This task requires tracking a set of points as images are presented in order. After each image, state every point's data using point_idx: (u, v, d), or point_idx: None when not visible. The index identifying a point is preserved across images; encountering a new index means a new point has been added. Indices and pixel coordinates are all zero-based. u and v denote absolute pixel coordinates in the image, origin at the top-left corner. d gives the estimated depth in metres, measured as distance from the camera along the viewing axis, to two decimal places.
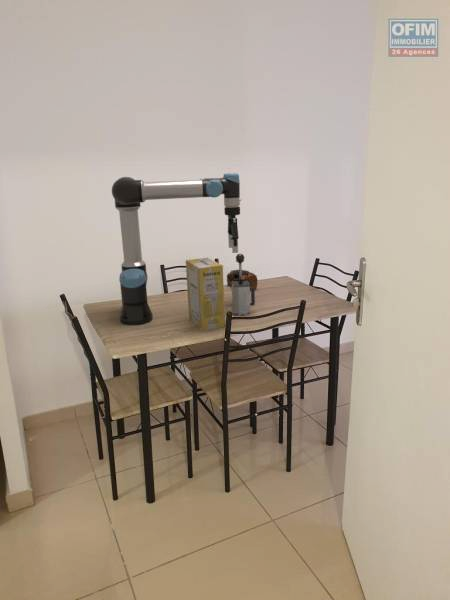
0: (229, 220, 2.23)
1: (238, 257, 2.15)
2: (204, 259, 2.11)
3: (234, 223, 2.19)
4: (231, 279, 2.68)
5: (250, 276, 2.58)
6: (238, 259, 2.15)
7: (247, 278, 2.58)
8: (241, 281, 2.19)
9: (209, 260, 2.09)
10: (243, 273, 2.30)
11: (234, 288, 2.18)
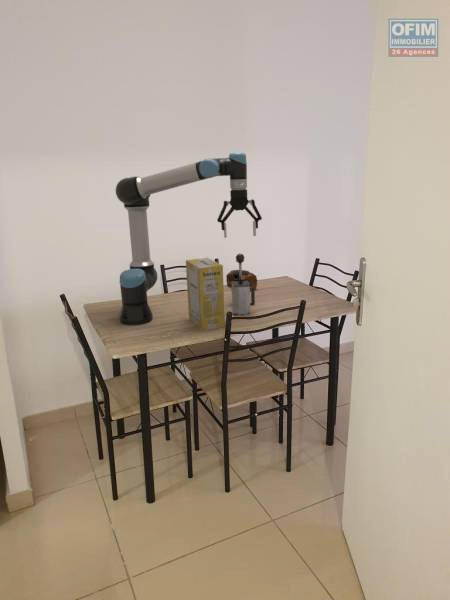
0: None
1: (238, 257, 2.15)
2: (204, 259, 2.11)
3: (223, 206, 2.09)
4: (231, 279, 2.67)
5: (250, 276, 2.58)
6: (238, 259, 2.15)
7: (247, 278, 2.58)
8: (241, 281, 2.19)
9: (209, 260, 2.09)
10: (243, 273, 2.30)
11: (234, 288, 2.18)
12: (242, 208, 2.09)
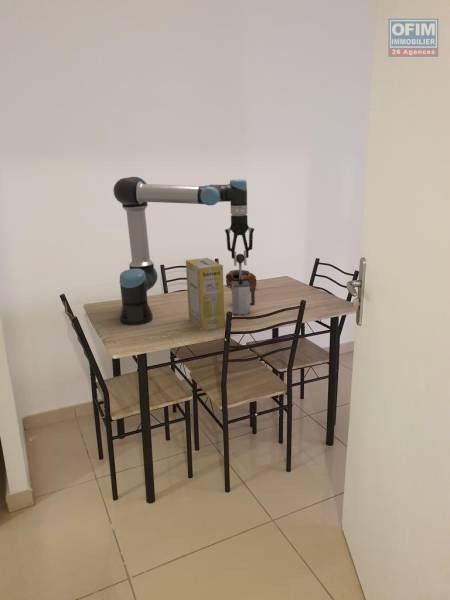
0: None
1: (238, 257, 2.15)
2: (204, 259, 2.11)
3: (226, 235, 2.13)
4: (230, 279, 2.67)
5: (249, 276, 2.58)
6: (238, 259, 2.15)
7: (246, 278, 2.57)
8: (241, 281, 2.19)
9: (209, 260, 2.09)
10: (243, 273, 2.30)
11: (234, 288, 2.18)
12: None
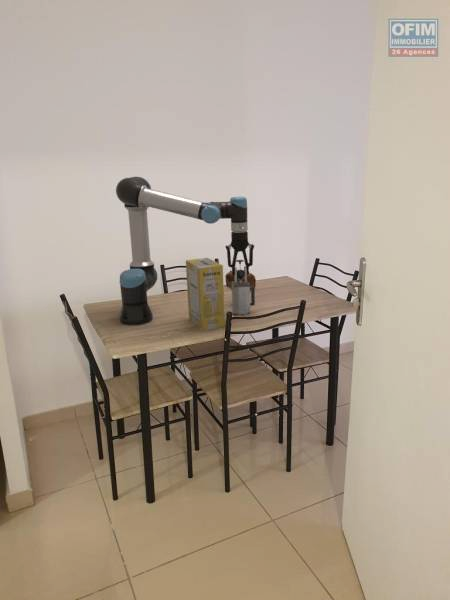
0: None
1: (238, 273, 2.17)
2: (204, 259, 2.11)
3: (227, 251, 2.15)
4: (229, 279, 2.67)
5: (248, 276, 2.58)
6: (238, 275, 2.17)
7: None
8: None
9: (209, 260, 2.09)
10: None
11: (234, 288, 2.18)
12: (243, 249, 2.15)
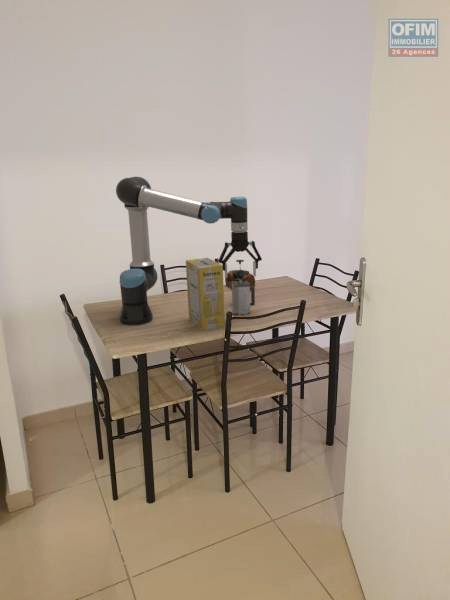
0: None
1: (238, 273, 2.17)
2: (204, 259, 2.11)
3: (224, 247, 2.14)
4: (229, 279, 2.67)
5: (248, 276, 2.58)
6: (238, 275, 2.17)
7: (245, 278, 2.57)
8: None
9: (209, 260, 2.09)
10: None
11: (234, 288, 2.18)
12: (243, 249, 2.15)
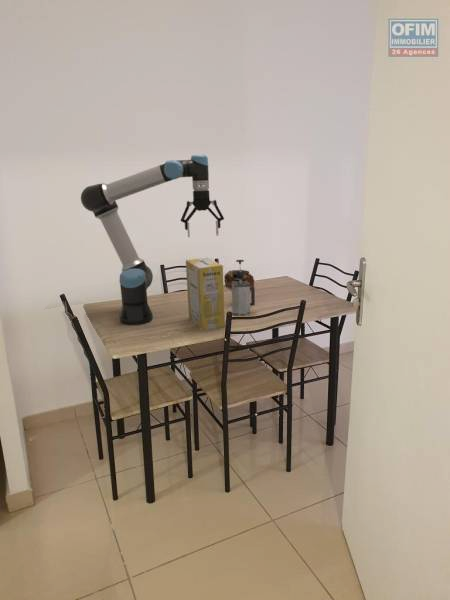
0: None
1: (238, 273, 2.17)
2: (204, 259, 2.11)
3: (186, 206, 2.16)
4: (228, 279, 2.67)
5: (246, 277, 2.57)
6: (238, 275, 2.17)
7: None
8: None
9: (209, 260, 2.09)
10: None
11: (234, 288, 2.18)
12: (204, 208, 2.16)
